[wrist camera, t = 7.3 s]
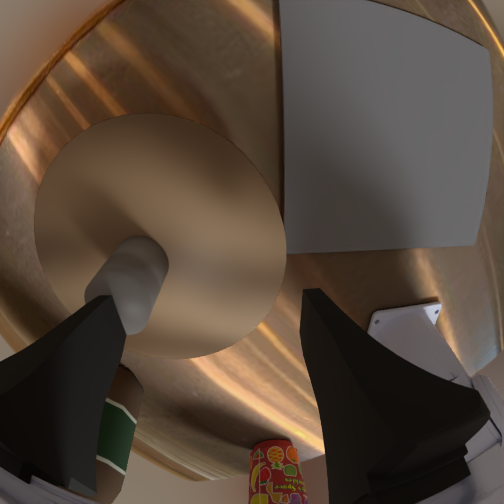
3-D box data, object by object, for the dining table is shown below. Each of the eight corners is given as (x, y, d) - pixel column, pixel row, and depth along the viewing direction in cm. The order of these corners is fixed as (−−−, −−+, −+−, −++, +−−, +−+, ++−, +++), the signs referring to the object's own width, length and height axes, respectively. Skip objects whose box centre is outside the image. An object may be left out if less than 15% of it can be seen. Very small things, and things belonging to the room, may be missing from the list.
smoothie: (312, 441, 34) (331, 556, 16) (272, 458, 36) (281, 561, 19) (273, 430, 31) (285, 565, 13) (232, 447, 34) (234, 565, 16)
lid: (274, 352, 18) (282, 410, 14) (77, 340, 18) (53, 386, 13) (292, 109, 12) (320, 104, 7) (25, 138, 11) (-32, 155, 7)
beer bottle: (117, 403, 28) (82, 568, 7) (70, 365, 25) (10, 540, 4) (159, 391, 27) (130, 592, 5) (107, 347, 23) (41, 572, 2)
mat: (471, 242, 20) (474, 245, 19) (282, 250, 19) (283, 254, 19) (485, 50, 12) (488, 50, 11) (277, -10, 11) (278, -13, 11)
